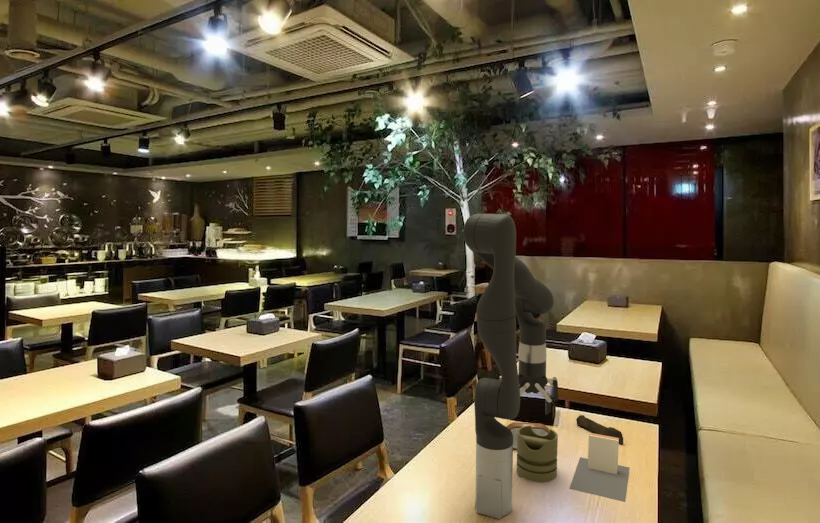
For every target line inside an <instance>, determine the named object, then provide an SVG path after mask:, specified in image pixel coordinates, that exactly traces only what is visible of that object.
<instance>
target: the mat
mask: <svg viewBox="0 0 820 523" xmlns="http://www.w3.org/2000/svg"><path fill="white" fill-rule="evenodd" d="M577 462H578V463H577V465H576V468H575V471H574V475H573V477H572V480H571V483H570V485H569V490H573V491H578V492H581V493H586V494H590V495H594V496H598V497H603V498H607V499H610V500H614V501H615V500H616V501H618V502H619V501H621V502H624V503H626V500H627V499H626V498H627V493H628V492H627V491H628V485H629V477H630V470H631V469H630V467H629V466H625V465H619V464H618V472H617V474H613V473H608V472H604V471H599V470H594V469H590V468H588V458H585V457H582V456H580V457H579V459H578V461H577Z"/></svg>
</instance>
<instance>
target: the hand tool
mask: <svg viewBox="0 0 820 523" xmlns="http://www.w3.org/2000/svg"><path fill="white" fill-rule="evenodd" d="M576 425H577V426H578V427H579V426H580V428H584V429H587V430H589V431H591V433H594V434H599V435H605V436H610V437H616V438H619V445H620V446H624V437H623V433H622V431H621V430H618V429H617V428H615V427H613V426H608V427H607V426H606V425H605V426H604V425H603V424H600V423H598V422H596V421H594V420H592V419H590V418H588V417H586V416H585V415H584V414H580V415H579V416H577V417H576Z"/></svg>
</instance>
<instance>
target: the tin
mask: <svg viewBox="0 0 820 523" xmlns="http://www.w3.org/2000/svg"><path fill="white" fill-rule="evenodd" d="M528 425H531V428H532V430H533V431H534V432H535V433H536V434H538V435H547V434H549V432H550V428H549V427H548V426H547V425H545V424H544V423H535V422H517V421H515V422H512V423H511V422H510V423H509V424H508V425H507V426H506V427H507V428H509V429H510V430H511V431H512V434H513V450H516V451H517V431H518V429H519V428H521V427H523V426H528Z"/></svg>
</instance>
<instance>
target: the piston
mask: <svg viewBox="0 0 820 523" xmlns="http://www.w3.org/2000/svg"><path fill="white" fill-rule="evenodd" d="M549 430H550V432H549V434H547V435H538V434H536V433H535V432H534V431H533V430H532V428H531V425H528V426H523V427H521V428H519V429H518V431H517V450H516V452H517V453H516V474H517V476H518V477H519V478H520V479H522V478H523V479H525V480H527V481H530V482H534V483H549V482H552V481H554V480H555V479H556V478H557V476H558V474H557V472H558V458H557V457H558V446H559V444H558V441H559V440H558V438H559V435H558V433H557V432H556V431H555V430H554V429H552V428H549Z"/></svg>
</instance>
